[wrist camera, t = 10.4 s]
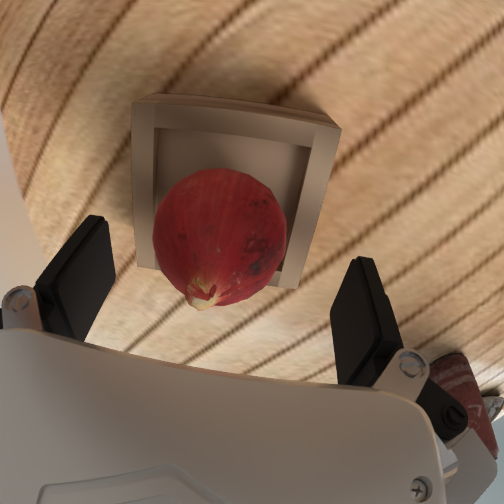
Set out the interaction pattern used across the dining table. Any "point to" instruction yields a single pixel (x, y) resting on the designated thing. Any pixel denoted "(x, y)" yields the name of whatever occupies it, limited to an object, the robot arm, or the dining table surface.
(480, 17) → the dining table surface
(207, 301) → the onion
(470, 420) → the can
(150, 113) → the wooden square tray
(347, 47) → the dining table surface
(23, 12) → the dining table surface
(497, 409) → the fossilized seashell
